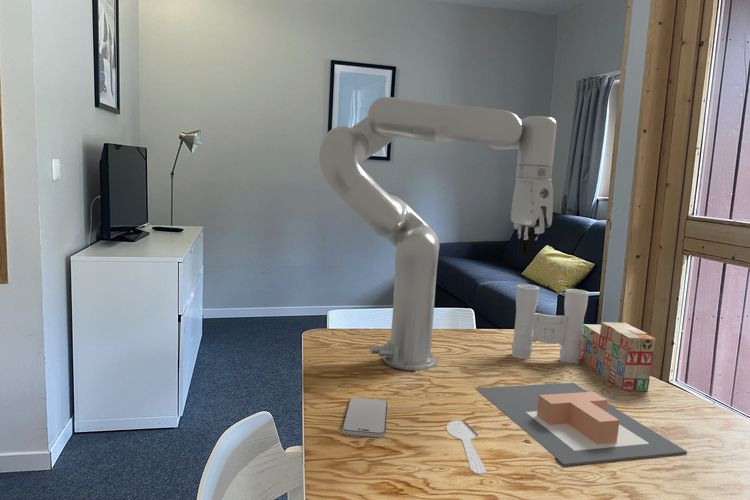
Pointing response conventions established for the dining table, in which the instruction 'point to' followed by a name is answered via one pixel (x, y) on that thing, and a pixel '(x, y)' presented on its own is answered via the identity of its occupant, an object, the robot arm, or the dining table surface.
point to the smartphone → (365, 417)
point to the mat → (567, 439)
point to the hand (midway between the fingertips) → (525, 257)
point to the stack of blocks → (619, 354)
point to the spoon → (467, 444)
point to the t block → (580, 414)
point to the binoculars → (549, 324)
